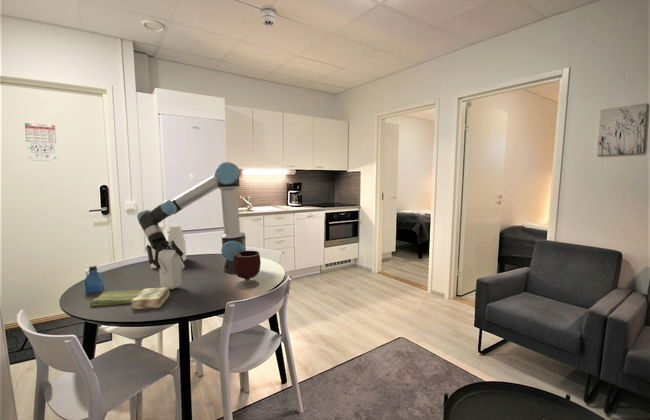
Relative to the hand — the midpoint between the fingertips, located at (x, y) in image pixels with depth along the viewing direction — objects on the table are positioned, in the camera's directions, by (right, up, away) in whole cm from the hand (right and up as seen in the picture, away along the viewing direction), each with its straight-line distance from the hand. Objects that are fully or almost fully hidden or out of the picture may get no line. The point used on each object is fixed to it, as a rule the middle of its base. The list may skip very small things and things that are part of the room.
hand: (173, 270), depth 152 cm
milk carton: (-3, -9, +3) cm, 10 cm away
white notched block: (-27, -5, +49) cm, 56 cm away
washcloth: (-21, -12, -10) cm, 26 cm away
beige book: (-4, -12, -12) cm, 18 cm away
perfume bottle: (-41, -11, +2) cm, 42 cm away
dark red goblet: (+34, -10, +9) cm, 36 cm away
